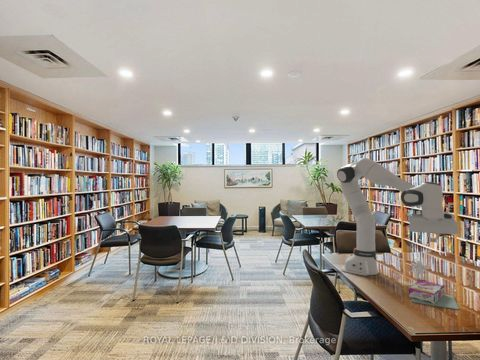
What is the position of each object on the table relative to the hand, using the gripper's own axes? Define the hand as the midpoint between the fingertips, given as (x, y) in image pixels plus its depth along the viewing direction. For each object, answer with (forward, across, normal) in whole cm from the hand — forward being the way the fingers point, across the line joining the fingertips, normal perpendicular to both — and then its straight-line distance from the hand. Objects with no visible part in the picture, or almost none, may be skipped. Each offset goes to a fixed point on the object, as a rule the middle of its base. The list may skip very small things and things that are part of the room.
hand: (433, 241), depth 138 cm
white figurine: (+28, -5, +27) cm, 39 cm away
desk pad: (+27, -1, -4) cm, 28 cm away
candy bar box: (+24, -1, +6) cm, 25 cm away
